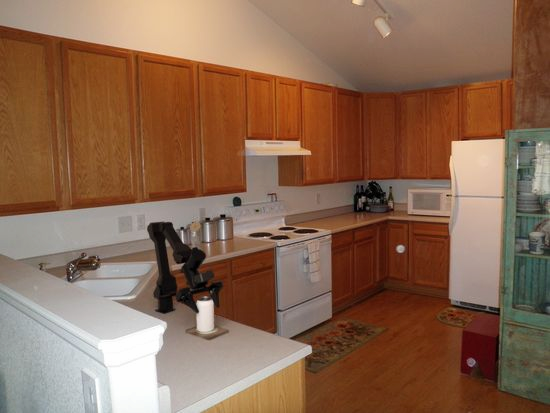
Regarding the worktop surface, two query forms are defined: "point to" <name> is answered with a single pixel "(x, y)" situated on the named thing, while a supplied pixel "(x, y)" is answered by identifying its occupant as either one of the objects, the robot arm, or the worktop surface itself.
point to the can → (205, 314)
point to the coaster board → (208, 335)
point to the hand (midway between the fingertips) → (208, 310)
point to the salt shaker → (198, 244)
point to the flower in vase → (194, 228)
